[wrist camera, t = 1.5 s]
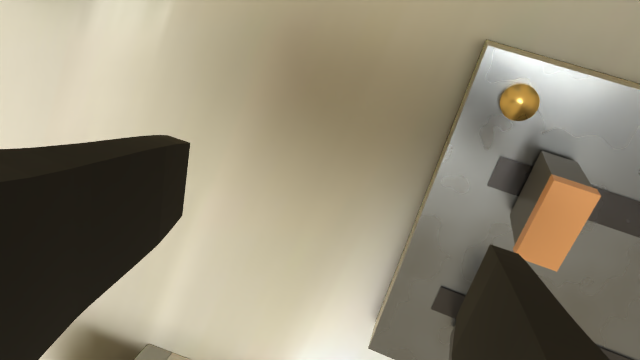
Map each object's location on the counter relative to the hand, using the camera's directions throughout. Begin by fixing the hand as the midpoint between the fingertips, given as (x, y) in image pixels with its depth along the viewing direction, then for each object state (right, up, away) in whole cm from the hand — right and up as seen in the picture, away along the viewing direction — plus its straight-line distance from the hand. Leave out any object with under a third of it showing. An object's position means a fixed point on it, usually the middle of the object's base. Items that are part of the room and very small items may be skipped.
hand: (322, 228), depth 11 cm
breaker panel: (+10, -2, +8) cm, 13 cm away
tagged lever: (+8, +1, +6) cm, 10 cm away
